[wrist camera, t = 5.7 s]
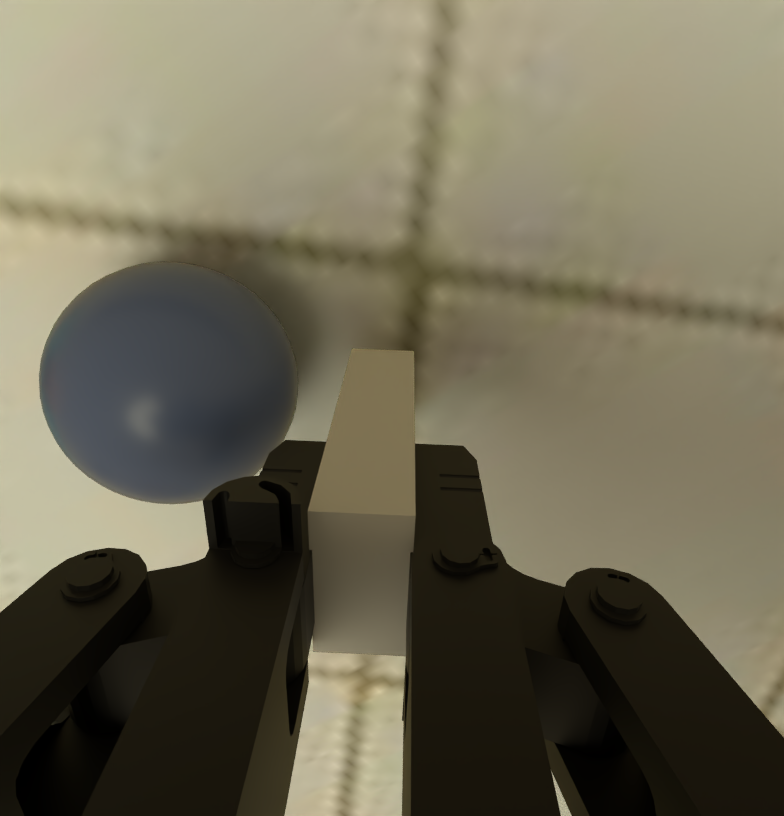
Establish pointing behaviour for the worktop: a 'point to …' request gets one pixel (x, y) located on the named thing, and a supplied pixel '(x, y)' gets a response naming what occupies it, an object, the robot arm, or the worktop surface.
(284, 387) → the blue ball
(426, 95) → the worktop surface
